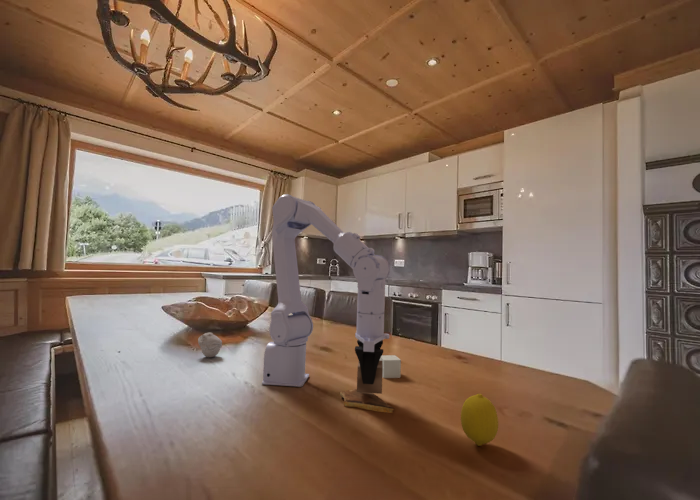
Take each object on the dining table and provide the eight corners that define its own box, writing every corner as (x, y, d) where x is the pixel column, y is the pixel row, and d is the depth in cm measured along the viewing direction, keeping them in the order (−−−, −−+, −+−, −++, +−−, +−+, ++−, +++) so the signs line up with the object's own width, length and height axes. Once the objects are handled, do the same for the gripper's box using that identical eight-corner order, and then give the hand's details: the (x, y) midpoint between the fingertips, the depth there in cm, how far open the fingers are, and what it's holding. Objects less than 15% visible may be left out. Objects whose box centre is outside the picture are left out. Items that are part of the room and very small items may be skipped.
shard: (394, 416, 62) (394, 406, 62) (358, 423, 58) (359, 413, 58) (367, 395, 71) (367, 387, 72) (335, 400, 68) (335, 391, 68)
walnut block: (356, 391, 65) (357, 366, 65) (358, 382, 70) (359, 359, 70) (381, 393, 64) (382, 368, 65) (381, 384, 69) (382, 360, 70)
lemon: (454, 436, 54) (455, 387, 54) (486, 436, 54) (487, 387, 55) (469, 455, 48) (470, 400, 49) (505, 455, 49) (505, 401, 49)
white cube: (383, 378, 82) (383, 360, 82) (378, 372, 86) (379, 355, 86) (400, 378, 83) (400, 360, 83) (394, 372, 87) (395, 355, 87)
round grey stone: (204, 353, 98) (205, 330, 99) (226, 355, 97) (227, 331, 98) (192, 358, 92) (193, 334, 93) (215, 360, 91) (216, 335, 92)
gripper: (391, 318, 60) (389, 393, 60) (388, 309, 75) (387, 369, 74) (353, 316, 61) (351, 390, 60) (358, 307, 75) (356, 367, 75)
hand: (368, 378), depth 67 cm, fingers closed on walnut block, 5 cm apart
